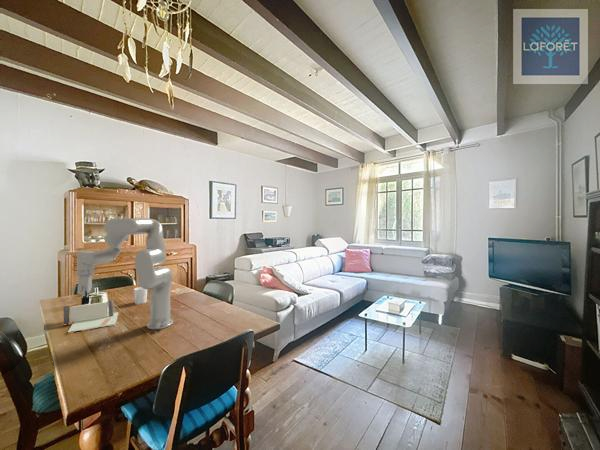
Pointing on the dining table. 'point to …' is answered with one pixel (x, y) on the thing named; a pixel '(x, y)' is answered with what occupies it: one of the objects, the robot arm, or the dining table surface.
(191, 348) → the dining table surface
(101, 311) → the white flat panel
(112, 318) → the frame
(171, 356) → the dining table surface
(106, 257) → the robot arm
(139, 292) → the white cup
